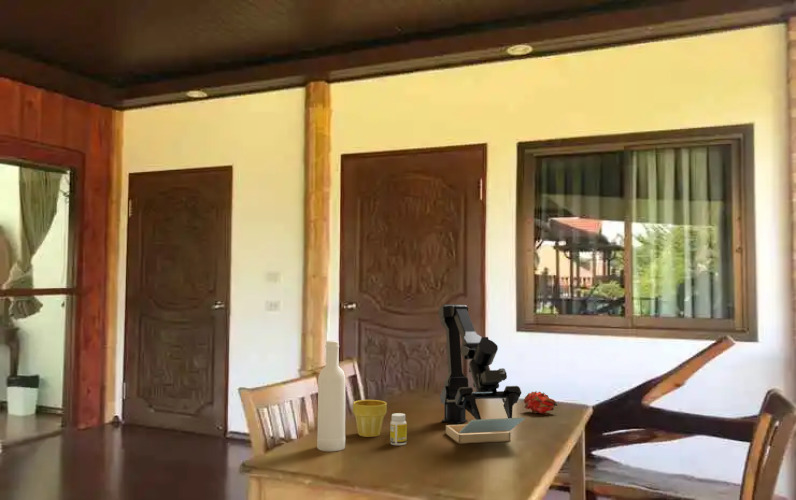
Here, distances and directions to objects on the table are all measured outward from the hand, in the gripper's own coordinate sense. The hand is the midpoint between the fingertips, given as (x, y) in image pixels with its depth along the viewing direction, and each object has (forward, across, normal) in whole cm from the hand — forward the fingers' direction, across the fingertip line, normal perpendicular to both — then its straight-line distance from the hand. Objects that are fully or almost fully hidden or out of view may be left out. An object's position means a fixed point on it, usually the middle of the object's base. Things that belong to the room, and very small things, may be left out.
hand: (495, 420), depth 185 cm
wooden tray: (-5, 0, +16) cm, 17 cm away
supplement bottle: (-3, -25, +14) cm, 29 cm away
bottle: (-2, -45, +14) cm, 47 cm away
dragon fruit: (-26, +35, +38) cm, 57 cm away
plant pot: (-12, -31, +24) cm, 41 cm away
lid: (-1, 0, +4) cm, 4 cm away
